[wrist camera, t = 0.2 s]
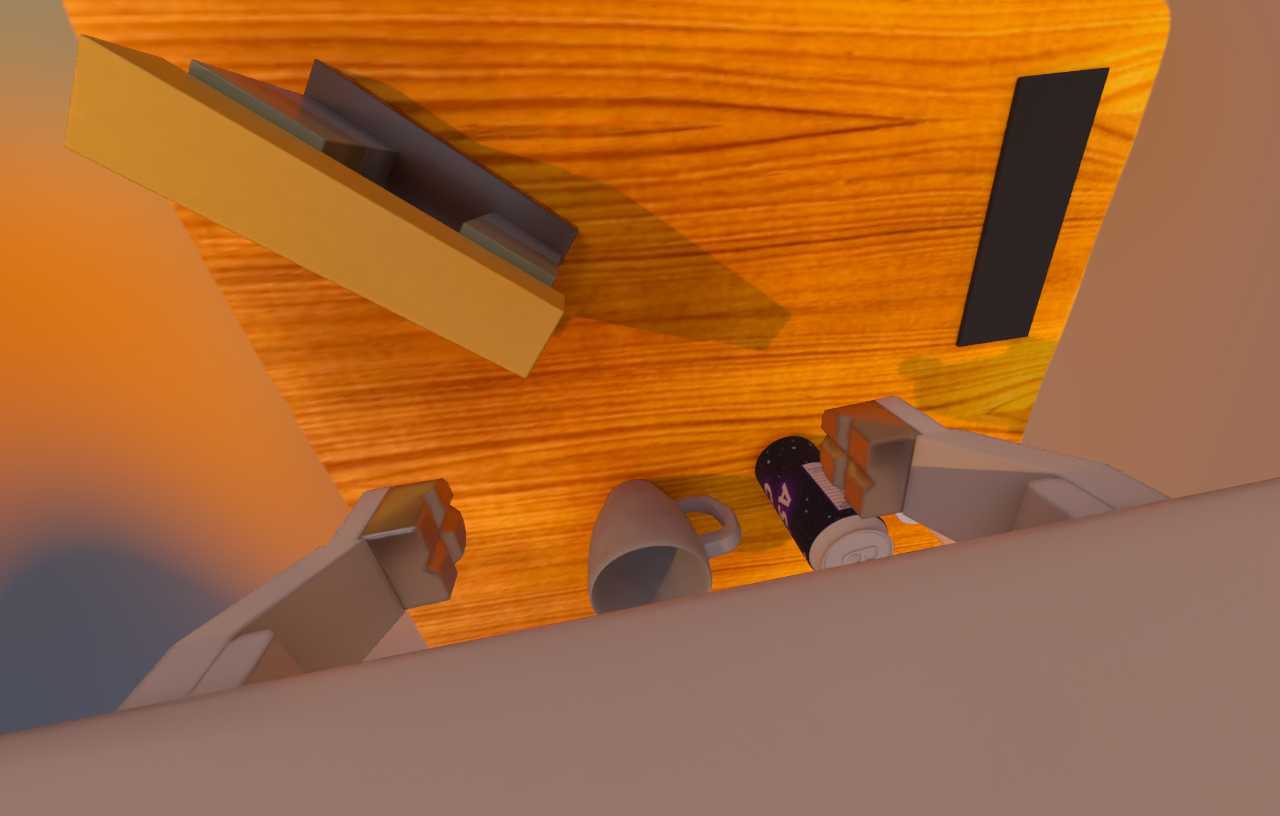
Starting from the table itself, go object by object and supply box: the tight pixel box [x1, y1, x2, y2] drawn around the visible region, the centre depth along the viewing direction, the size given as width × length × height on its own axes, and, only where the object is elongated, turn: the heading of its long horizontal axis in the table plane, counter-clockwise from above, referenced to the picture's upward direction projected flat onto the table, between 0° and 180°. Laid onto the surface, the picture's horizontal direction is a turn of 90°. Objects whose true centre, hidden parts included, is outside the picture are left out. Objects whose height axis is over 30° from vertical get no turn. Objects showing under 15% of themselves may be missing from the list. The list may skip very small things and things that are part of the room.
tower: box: [188, 59, 578, 288], centre depth 24 cm, size 8×15×10 cm, turn 57°
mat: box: [956, 67, 1109, 347], centre depth 33 cm, size 18×6×1 cm, turn 6°
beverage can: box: [755, 436, 894, 571], centre depth 34 cm, size 6×6×12 cm
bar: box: [64, 34, 565, 379], centre depth 18 cm, size 4×16×3 cm, turn 57°
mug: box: [588, 480, 741, 615], centre depth 36 cm, size 12×9×10 cm
